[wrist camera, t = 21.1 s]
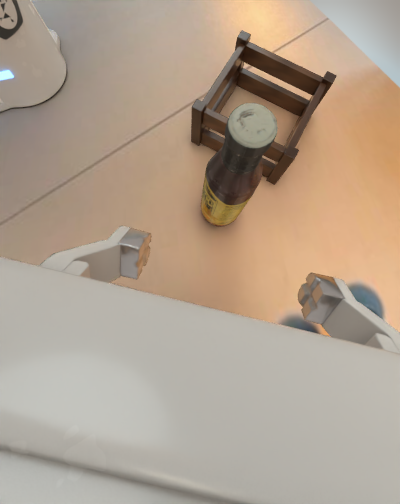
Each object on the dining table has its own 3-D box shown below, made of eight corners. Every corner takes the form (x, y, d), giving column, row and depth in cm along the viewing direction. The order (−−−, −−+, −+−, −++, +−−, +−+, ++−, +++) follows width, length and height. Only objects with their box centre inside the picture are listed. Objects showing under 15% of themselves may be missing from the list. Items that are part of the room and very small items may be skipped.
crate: (191, 141, 39) (191, 106, 32) (232, 75, 43) (241, 29, 35) (274, 184, 39) (294, 158, 31) (311, 113, 42) (336, 75, 34)
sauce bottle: (201, 190, 38) (215, 78, 18) (239, 194, 38) (291, 87, 19) (198, 228, 37) (209, 151, 17) (237, 232, 37) (292, 159, 17)
